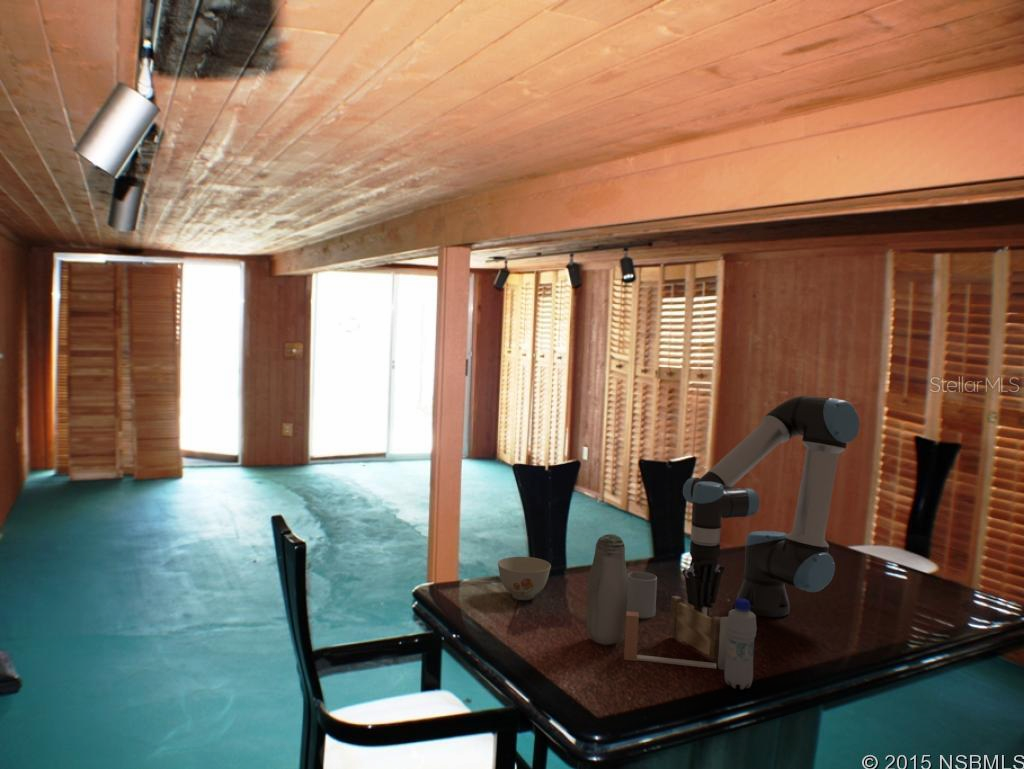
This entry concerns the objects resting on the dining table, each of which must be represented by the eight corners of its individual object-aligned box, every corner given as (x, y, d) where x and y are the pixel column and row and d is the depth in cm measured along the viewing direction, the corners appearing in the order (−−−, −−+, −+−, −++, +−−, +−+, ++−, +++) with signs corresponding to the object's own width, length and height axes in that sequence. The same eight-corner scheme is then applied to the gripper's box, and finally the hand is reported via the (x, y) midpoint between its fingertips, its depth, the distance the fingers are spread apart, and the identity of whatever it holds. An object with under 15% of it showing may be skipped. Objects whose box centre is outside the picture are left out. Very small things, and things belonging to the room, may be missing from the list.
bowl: (487, 600, 223) (489, 566, 222) (508, 585, 238) (509, 553, 237) (538, 609, 217) (540, 575, 216) (556, 593, 232) (558, 561, 231)
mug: (661, 616, 215) (663, 578, 214) (635, 620, 212) (637, 581, 211) (638, 603, 226) (639, 566, 225) (613, 605, 222) (615, 569, 222)
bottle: (718, 678, 176) (723, 594, 175) (746, 678, 176) (751, 594, 175) (729, 691, 169) (734, 604, 168) (758, 691, 170) (763, 604, 168)
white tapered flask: (615, 653, 188) (621, 542, 186) (578, 643, 193) (583, 535, 191) (631, 641, 196) (636, 535, 194) (595, 632, 201) (600, 528, 200)
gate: (719, 658, 185) (721, 618, 184) (713, 659, 184) (715, 619, 183) (674, 632, 201) (676, 595, 200) (669, 633, 200) (671, 596, 199)
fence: (730, 665, 183) (733, 617, 182) (732, 671, 180) (735, 622, 179) (624, 654, 187) (626, 607, 187) (624, 659, 184) (626, 611, 184)
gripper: (712, 536, 202) (707, 622, 204) (676, 540, 196) (671, 629, 197) (734, 543, 196) (728, 632, 197) (697, 548, 189) (691, 640, 191)
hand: (700, 630), depth 197 cm, fingers closed
